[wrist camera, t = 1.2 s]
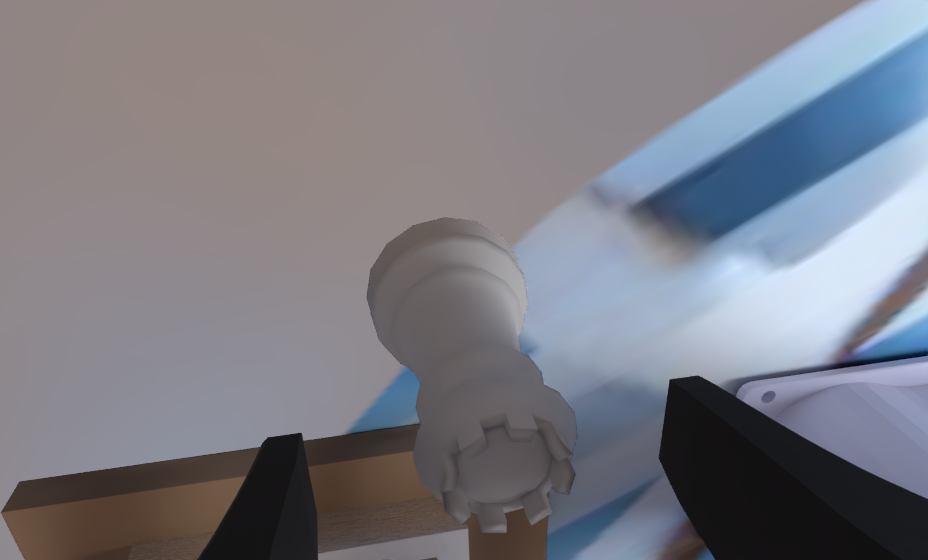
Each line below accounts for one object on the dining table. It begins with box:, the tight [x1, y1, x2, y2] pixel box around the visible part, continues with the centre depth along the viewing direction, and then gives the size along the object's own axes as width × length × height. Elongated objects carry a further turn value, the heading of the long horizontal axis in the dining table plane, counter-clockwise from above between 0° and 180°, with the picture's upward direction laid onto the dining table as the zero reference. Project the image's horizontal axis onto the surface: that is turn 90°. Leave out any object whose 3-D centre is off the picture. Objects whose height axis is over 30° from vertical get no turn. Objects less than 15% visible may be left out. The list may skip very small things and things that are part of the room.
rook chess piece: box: [367, 218, 578, 533], centre depth 15 cm, size 4×4×8 cm
